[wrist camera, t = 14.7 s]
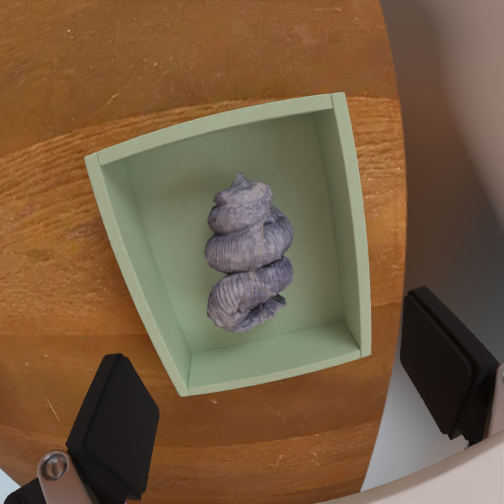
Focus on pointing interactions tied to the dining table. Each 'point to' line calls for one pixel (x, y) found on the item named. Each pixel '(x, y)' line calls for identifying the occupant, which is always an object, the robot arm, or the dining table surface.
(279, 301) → the seashell
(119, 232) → the box
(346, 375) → the dining table surface
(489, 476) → the robot arm
